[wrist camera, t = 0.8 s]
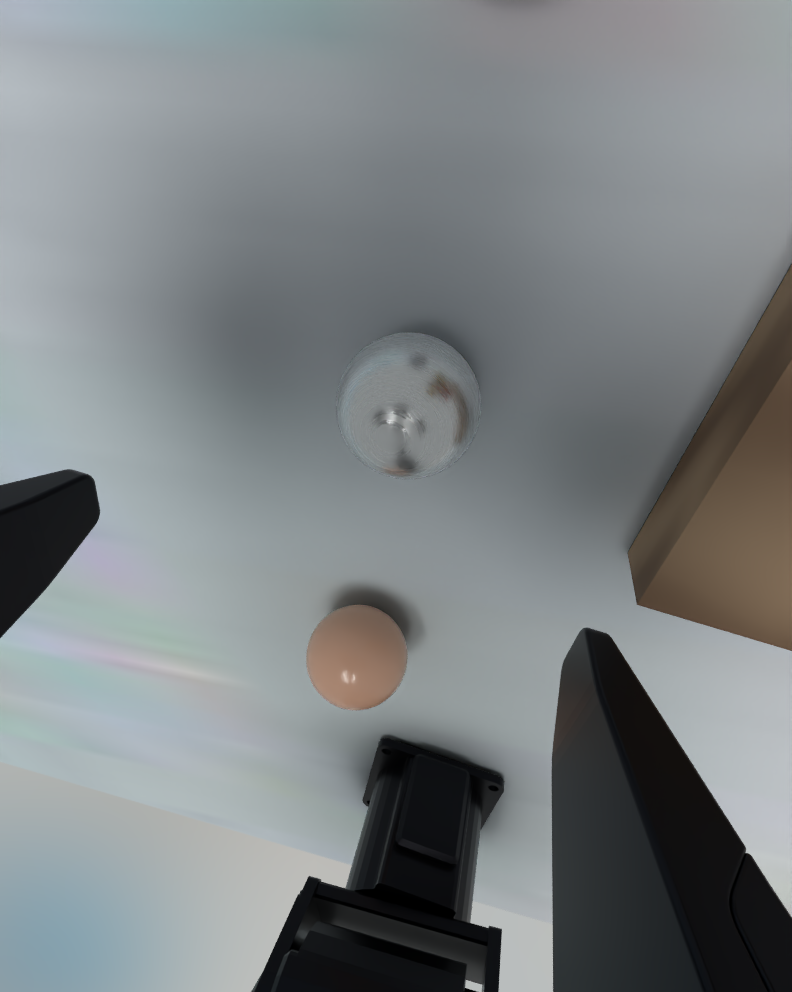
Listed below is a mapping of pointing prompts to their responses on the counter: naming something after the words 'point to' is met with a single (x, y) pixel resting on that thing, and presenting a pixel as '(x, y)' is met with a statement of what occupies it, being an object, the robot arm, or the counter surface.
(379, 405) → the steel ball
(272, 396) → the counter surface
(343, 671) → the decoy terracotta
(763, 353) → the brown recessed board
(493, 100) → the counter surface
